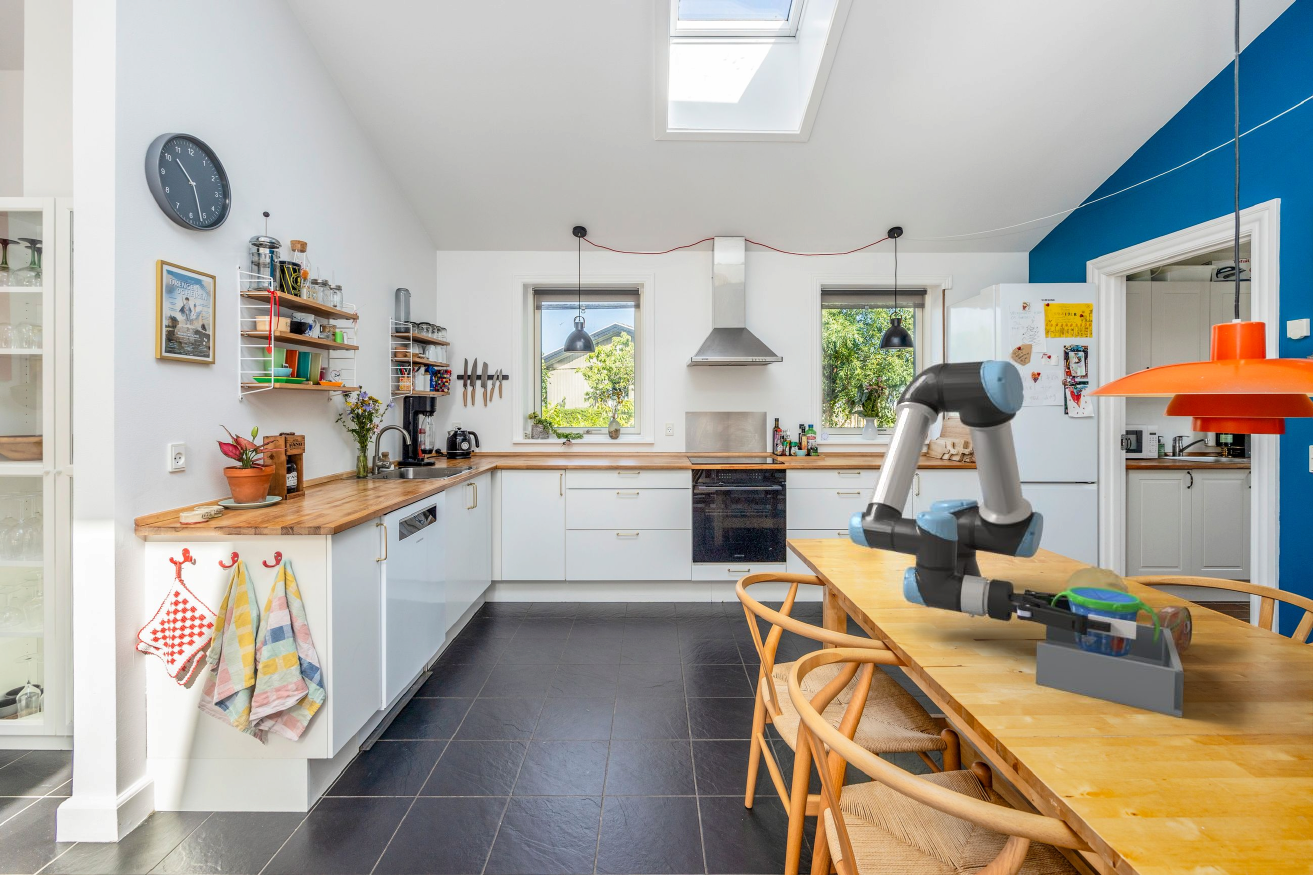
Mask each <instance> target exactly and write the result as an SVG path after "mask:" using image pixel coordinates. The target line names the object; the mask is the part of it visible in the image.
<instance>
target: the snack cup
mask: <svg viewBox="0 0 1313 875" xmlns="http://www.w3.org/2000/svg"><path fill="white" fill-rule="evenodd" d="M1057 594H1058V595H1057V596H1056V597H1055V598H1054V600H1053V602H1052V605H1051V606H1053V607H1055V603H1056V602H1057V600H1058V599H1059V598H1060V597H1062V596H1066V597H1067V598H1068V601H1069V605H1070V608H1071V611H1072V612H1074V613H1078V614H1081V615H1085V616H1087V617H1088V614H1090V615H1096V616H1102V617H1108V618H1114V619H1120V620H1126V621H1132V622H1136V623H1137V617H1138V616H1137V615H1138V613H1139V611H1141V610H1144V611H1145V612H1147V613H1149V614H1150V615H1151V617H1153V619H1154V622H1155V624H1154V639H1153V643H1156V641H1157V639H1158V636H1159V632H1160V624H1159V620H1158V617H1157V615H1156V614H1155V613H1156V612H1155V610H1153V609H1152V607H1150V606H1149V605H1148V604H1146V603H1145V602H1143V601H1142V600H1141V598H1139V597H1138V596H1136V595H1133V594H1131V593H1129V594H1128V593H1124V592H1120V591H1116V590H1110V589H1104V588H1095V587H1073V588H1070V589H1069V590H1068V591H1066V590H1065V591H1061V592H1060V593H1057ZM1075 639H1076V643H1077V644H1078V646H1079V647H1080V648H1082V649H1083V650H1085V651H1087V652H1091V653H1096V654H1101V655H1106V656H1111V657H1121V656H1125V655H1128V653H1129V650H1130V645H1131V641H1132V639H1131V638H1125V637H1120V636H1114V635H1109V634H1103V633H1098V632H1092V631H1088V629H1087V635H1081V633H1076V632H1075Z"/></svg>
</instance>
